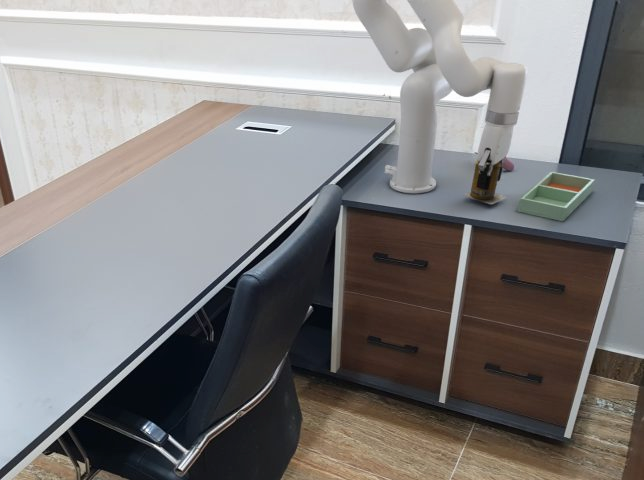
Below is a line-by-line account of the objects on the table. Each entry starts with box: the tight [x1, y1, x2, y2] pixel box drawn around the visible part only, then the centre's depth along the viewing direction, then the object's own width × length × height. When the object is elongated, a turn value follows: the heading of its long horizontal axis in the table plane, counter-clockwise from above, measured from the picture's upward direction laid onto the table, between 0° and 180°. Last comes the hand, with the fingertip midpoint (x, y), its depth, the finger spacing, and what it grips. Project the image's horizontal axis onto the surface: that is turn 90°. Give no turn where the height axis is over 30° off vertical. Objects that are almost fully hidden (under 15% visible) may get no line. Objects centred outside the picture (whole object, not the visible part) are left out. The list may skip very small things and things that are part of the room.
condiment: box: [463, 160, 507, 205], centre depth 187 cm, size 7×8×12 cm
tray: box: [517, 171, 596, 222], centre depth 187 cm, size 11×22×4 cm, turn 138°
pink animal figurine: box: [501, 155, 515, 172], centre depth 210 cm, size 10×5×7 cm, turn 178°
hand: (488, 183), depth 189 cm, fingers closed on condiment, 6 cm apart
